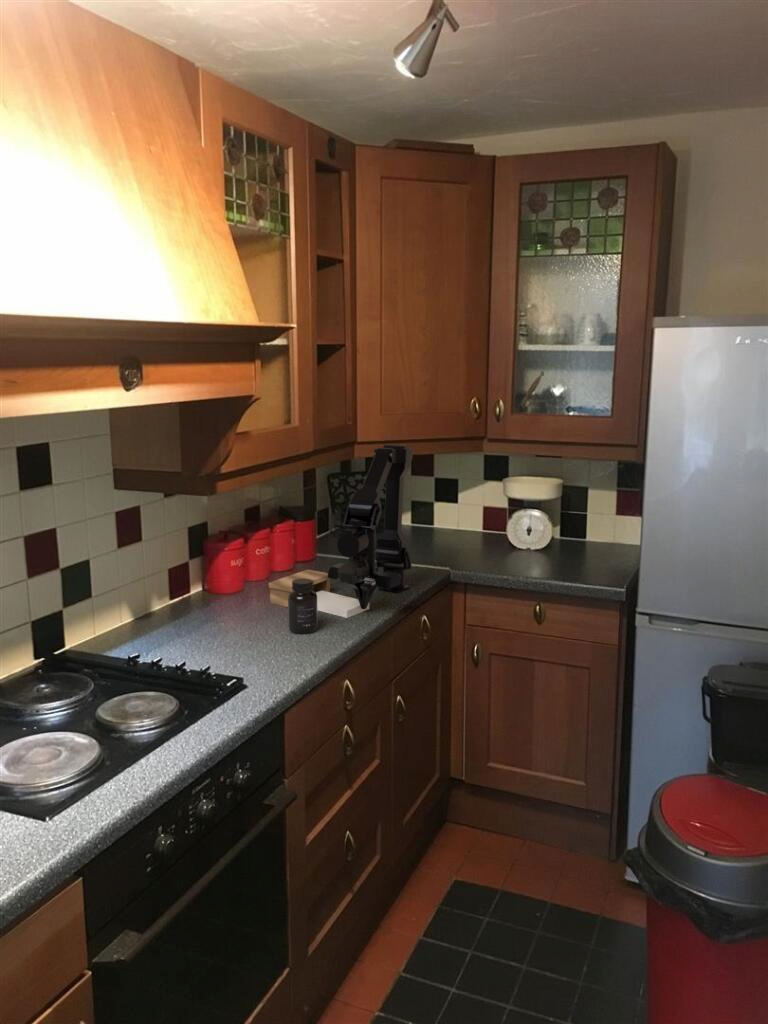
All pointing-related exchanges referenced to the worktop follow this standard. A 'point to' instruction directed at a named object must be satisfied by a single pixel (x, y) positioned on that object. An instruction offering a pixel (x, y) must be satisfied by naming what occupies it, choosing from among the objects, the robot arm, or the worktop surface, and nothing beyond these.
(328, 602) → the panel
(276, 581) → the oak shelf
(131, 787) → the worktop surface
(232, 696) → the worktop surface
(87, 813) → the worktop surface
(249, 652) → the worktop surface
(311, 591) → the supplement bottle
